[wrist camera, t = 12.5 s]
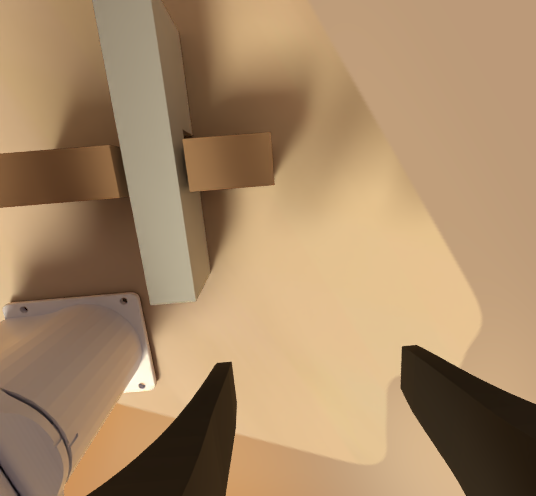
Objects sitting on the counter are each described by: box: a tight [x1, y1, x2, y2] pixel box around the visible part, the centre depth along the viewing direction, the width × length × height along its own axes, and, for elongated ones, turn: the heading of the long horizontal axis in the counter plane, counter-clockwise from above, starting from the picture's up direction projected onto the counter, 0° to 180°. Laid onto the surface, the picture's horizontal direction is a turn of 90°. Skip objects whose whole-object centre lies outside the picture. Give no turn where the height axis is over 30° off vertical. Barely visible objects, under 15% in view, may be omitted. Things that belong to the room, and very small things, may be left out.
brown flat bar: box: [0, 132, 275, 208], centre depth 16 cm, size 14×2×5 cm, turn 95°
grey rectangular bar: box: [92, 0, 211, 305], centre depth 16 cm, size 15×2×5 cm, turn 5°
